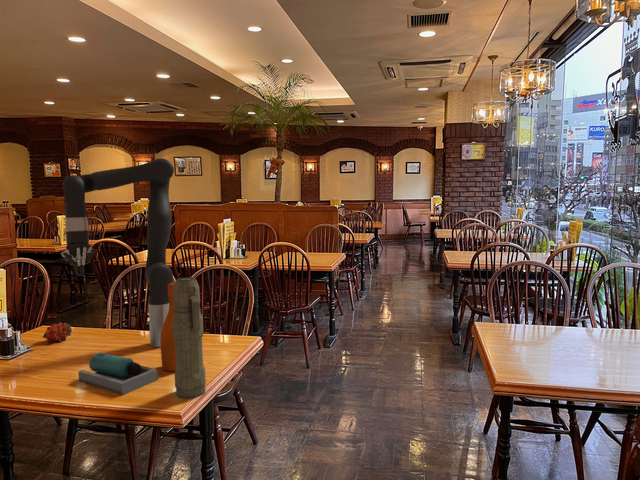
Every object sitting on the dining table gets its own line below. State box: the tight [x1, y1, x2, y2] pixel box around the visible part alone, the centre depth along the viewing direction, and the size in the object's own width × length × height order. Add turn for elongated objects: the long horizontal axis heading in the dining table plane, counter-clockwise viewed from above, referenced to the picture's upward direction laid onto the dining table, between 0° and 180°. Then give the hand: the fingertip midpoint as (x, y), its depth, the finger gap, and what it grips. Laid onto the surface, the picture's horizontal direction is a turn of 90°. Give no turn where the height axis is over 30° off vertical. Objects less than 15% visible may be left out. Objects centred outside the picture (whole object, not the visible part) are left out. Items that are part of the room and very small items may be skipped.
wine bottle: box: [160, 282, 176, 372], centre depth 156 cm, size 10×10×30 cm
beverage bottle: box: [88, 352, 142, 378], centre depth 149 cm, size 6×7×20 cm
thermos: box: [172, 276, 207, 400], centre depth 135 cm, size 9×12×35 cm
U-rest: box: [77, 364, 159, 396], centre depth 146 cm, size 22×13×4 cm, turn 60°
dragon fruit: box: [42, 321, 73, 343], centre depth 190 cm, size 8×8×12 cm
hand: (80, 275), depth 169 cm, fingers closed
